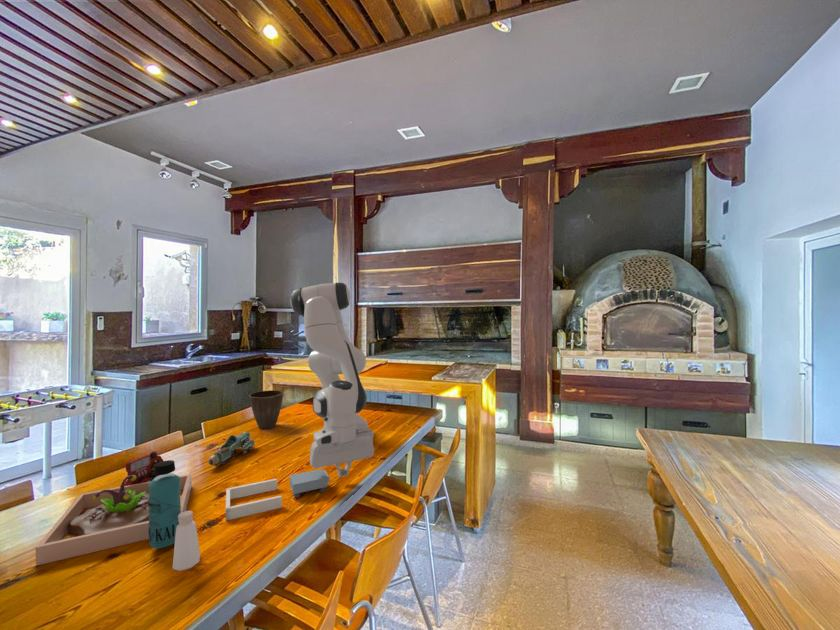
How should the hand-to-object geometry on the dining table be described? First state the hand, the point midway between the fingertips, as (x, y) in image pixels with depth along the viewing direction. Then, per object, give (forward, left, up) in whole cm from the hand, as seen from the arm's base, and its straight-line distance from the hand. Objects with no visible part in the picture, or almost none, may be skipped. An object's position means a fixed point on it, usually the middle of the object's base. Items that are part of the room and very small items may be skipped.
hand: (343, 475), depth 119 cm
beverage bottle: (+46, +12, -3) cm, 47 cm away
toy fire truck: (+56, -27, -3) cm, 62 cm away
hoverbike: (+32, -42, -3) cm, 53 cm away
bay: (+26, 0, -2) cm, 26 cm away
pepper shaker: (+41, +21, -3) cm, 46 cm away
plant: (+58, -8, -3) cm, 59 cm away
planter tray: (+57, -7, -2) cm, 57 cm away
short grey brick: (+11, 0, -2) cm, 11 cm away
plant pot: (+17, -75, -3) cm, 77 cm away
